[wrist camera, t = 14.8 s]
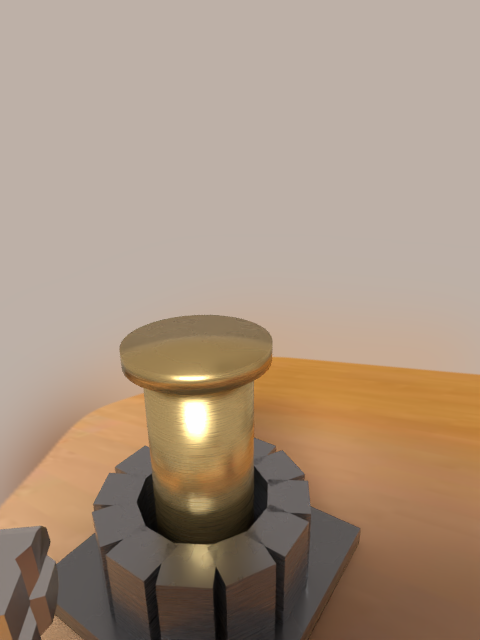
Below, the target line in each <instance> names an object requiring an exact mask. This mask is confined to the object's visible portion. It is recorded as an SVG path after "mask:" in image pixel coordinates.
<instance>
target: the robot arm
mask: <svg viewBox="0 0 480 640" xmlns="http://www.w3.org/2000/svg"><path fill="white" fill-rule="evenodd" d="M49 546H50V539H49V535H48V532H47V529H46V527H43V526H35V527H24V528H12V529H1V530H0V640H41V637H40V636H41V635H42V634H43V633H44V632H45V631H46V630H47V628H48V627H49V626H50V625H51V624H52V622H53V618H54V614H55V611H56V607H57V599H58V589H59V581H58V570H57V566H56V562H55V561H54V560H53V559H51V558H50V557H49V556H47V552H48V549H49Z"/></svg>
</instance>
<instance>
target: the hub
mask: <svg viewBox="0 0 480 640" xmlns="http://www.w3.org/2000/svg"><path fill="white" fill-rule="evenodd" d="M115 471H116V473H109V475H108V476H107V478H106V480H105V482H104V484H103V486H102V488H101V490H100V492H99V494H98V496H97V498H96V500H95V502H94V504H93V506H94V512H92V516H93V522H94V528H95V533H94V534H93V535H92V536H91V537H89V538H88V539H87V540H86V541H84V542H83V543H82V544H81V545H79V546H78V547H77V548H76V549H75V550H73V551H72V552H71V553H70V554H68V555H67V556H66V557H65V558H64V559H62V560H61V561H60V562H59V563H57V564H56V566H57V570H58V581H59V589H58V599H57V607H56V611H55V615H56V616H57V617H59V618H60V619H61V620H62V621H63V622H64V623H65V624H67V625H68V626H69V627H70V628H71V629H72V630H73V631H75V632H76V633H77V634H78V635H79V636H80V637H81V638H83V639H84V640H308V638H309V636H310V634H311V632H312V630H313V629H314V627H315V625H316V623H317V621H318V619H319V617H320V615H321V613H322V612H323V610H324V608H325V606H326V604H327V602H328V600H329V598H330V596H331V594H332V593H333V591H334V589H335V587H336V585H337V583H338V581H339V579H340V577H341V576H342V574H343V572H344V570H345V568H346V566H347V564H348V562H349V560H350V558H351V557H352V555H353V553H354V551H355V549H356V547H357V545H358V543H359V538H360V528H358V527H356V526H354V525H351V524H349V523H347V522H345V521H342V520H340V519H338V518H336V517H333V516H331V515H329V514H327V513H324V512H322V511H320V510H318V509H315V508H313V507H311V506H310V497H309V487H308V481H304V477H305V474H304V473H303V472H302V471H301V470H300V469H299V467H298V466H297V465H296V464H295V463H294V462H293V461H292V460H291V459H290V458H289V457H288V456H287V455H286V454H285V452H284V451H283V450H282V451H279V452H276V446H274V445H272V444H269V443H267V442H264V441H261V440H259V439H256V438H254V524H253V525H252V526H251V528H250V529H249V530H248V531H246V532H244V533H241V534H239V535H236V536H234V537H231V538H229V539H226V540H224V541H221V542H219V543H216V544H214V545H204V544H184V543H173V542H171V541H169V540H168V539H166V538H164V537H163V536H161V535H159V534H158V528H157V518H156V508H155V498H154V488H153V478H152V467H151V457H150V448H149V447H147V446H144V447H142V448H141V449H140V450H138V451H137V452H135V453H134V454H133V455H131V456H130V457H128V458H127V459H125V460H124V461H123V462H121V463H120V464H118V465H117V466H116V467H115Z"/></svg>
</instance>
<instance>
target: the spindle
mask: <svg viewBox="0 0 480 640" xmlns="http://www.w3.org/2000/svg"><path fill="white" fill-rule="evenodd" d="M120 358H121V366H122V371H123V373H124V375H125V376H126V377H127V378H128V379H129V380H130V381H131V382H133V383H134V384H136V385H138V386H140V387H143V388H144V397H145V407H146V417H147V427H148V437H149V447H150V457H151V467H152V478H153V488H154V498H155V508H156V518H157V528H158V534H159V535H161V536H163V537H164V538H166V539H168V540H169V541H171V542H173V543H184V544H204V545H214V544H216V543H219V542H221V541H224V540H226V539H229V538H231V537H234V536H236V535H239V534H241V533H244V532H246V531H248V530H249V529H250V528H251V526H252V525H253V524H254V380H256V379H258V378H259V377H261V376H262V375H263V374H264V373H265V372H266V371H267V370H268V369H269V367H270V366H271V363H272V337H271V335H270V334H269V332H268V331H267V330H266V329H264V328H263V327H261V326H259V325H257V324H255V323H253V322H250V321H247V320H243V319H239V318H234V317H228V316H219V315H192V316H182V317H175V318H169V319H164V320H160V321H156V322H153V323H150V324H147V325H145V326H142V327H140V328H138V329H136V330H134V331H133V332H131V333H130V334H128V335H127V336H126V337H125V338H124V339H123V341H122V342H121V345H120Z"/></svg>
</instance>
